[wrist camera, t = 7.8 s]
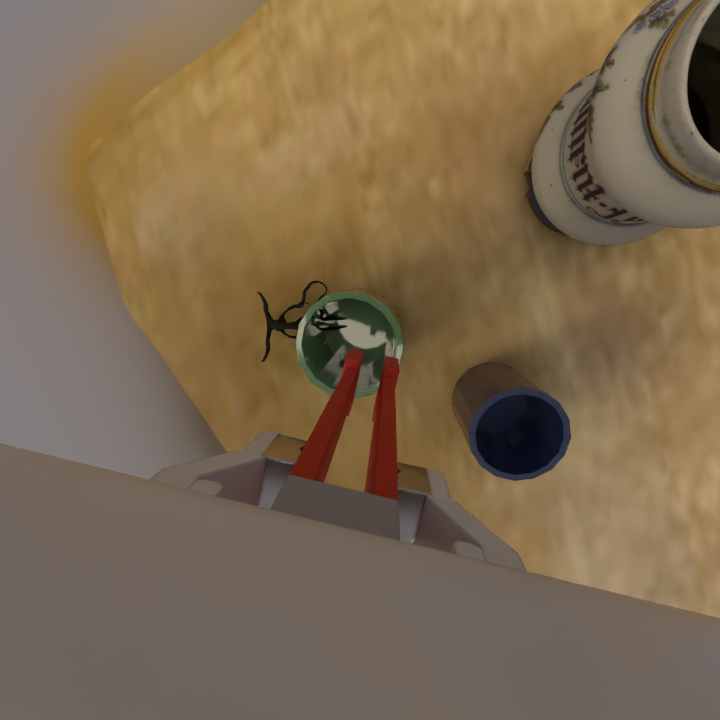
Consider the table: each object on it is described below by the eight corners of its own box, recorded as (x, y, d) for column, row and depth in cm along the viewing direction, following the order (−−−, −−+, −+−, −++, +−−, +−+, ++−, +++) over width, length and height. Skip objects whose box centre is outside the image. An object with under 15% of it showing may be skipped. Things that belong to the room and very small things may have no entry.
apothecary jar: (500, 122, 32) (628, -66, 15) (651, 82, 31) (992, -180, 13) (519, 264, 35) (650, 247, 17) (660, 233, 33) (964, 180, 15)
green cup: (329, 280, 36) (306, 281, 27) (408, 298, 36) (414, 305, 26) (314, 358, 38) (287, 384, 28) (390, 375, 38) (389, 408, 28)
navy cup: (463, 355, 37) (484, 378, 28) (538, 372, 36) (584, 401, 28) (443, 424, 38) (458, 467, 30) (515, 441, 38) (552, 489, 29)
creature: (344, 280, 37) (261, 281, 36) (350, 280, 32) (253, 281, 31) (345, 358, 39) (266, 361, 38) (352, 370, 33) (260, 374, 32)
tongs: (351, 347, 22) (257, 499, 7) (399, 358, 22) (415, 538, 7) (340, 397, 23) (233, 641, 7) (386, 408, 23) (376, 678, 7)
